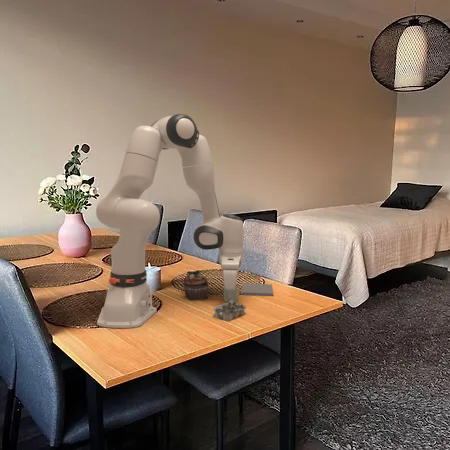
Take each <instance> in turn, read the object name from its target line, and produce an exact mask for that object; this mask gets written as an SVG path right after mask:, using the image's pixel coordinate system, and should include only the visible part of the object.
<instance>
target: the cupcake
mask: <svg viewBox="0 0 450 450" xmlns="http://www.w3.org/2000/svg"><path fill="white" fill-rule="evenodd" d="M182 286H183V289H184V294H185V298H186V299H187V300H190V301H193V302H194V301H198V302H199V301H204V300H206V299H207V298H208V292H209V288H210V284H209V282H208V279H207V277H205V276H204V275H203V274H202V273H201V272H200V270H198V269H197V270H195V271H189V270H188V271H187V273H186V276H185V277H184V278H183V283H182Z"/></svg>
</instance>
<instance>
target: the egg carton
mask: <svg viewBox="0 0 450 450" xmlns="http://www.w3.org/2000/svg"><path fill="white" fill-rule="evenodd" d="M247 307H248V306H247V305H244V304H243V303H239V302H238V301H233V300H231V301H227V302H223V303H222V304H219V305H215V306H214V307H213V308H212V311H214V317H215V318H216V319H222V320H223V321H225V322H226V321H227V322H228V321H233V319H234V318H235V319H236V318H239V316H244V315H245V310H247Z"/></svg>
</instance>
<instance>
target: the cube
mask: <svg viewBox="0 0 450 450" xmlns="http://www.w3.org/2000/svg"><path fill="white" fill-rule="evenodd" d="M238 284H239V283H236V286H235V290H233V298H228V291H227V290H225V288H224V287H223V302H229V301H231V300H233V301H234V302H238V296H239V295H238V294H239V292H238V291H239V285H238Z"/></svg>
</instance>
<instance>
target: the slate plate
mask: <svg viewBox="0 0 450 450" xmlns="http://www.w3.org/2000/svg"><path fill="white" fill-rule="evenodd" d="M241 284H242V285H241V286H242V287H241V296H255V297H257V296H258V297H259V296H263V297H268V296H269V297H274V288H273V284H271V283H270V284H269V283H268V284H267V283H241Z"/></svg>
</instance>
